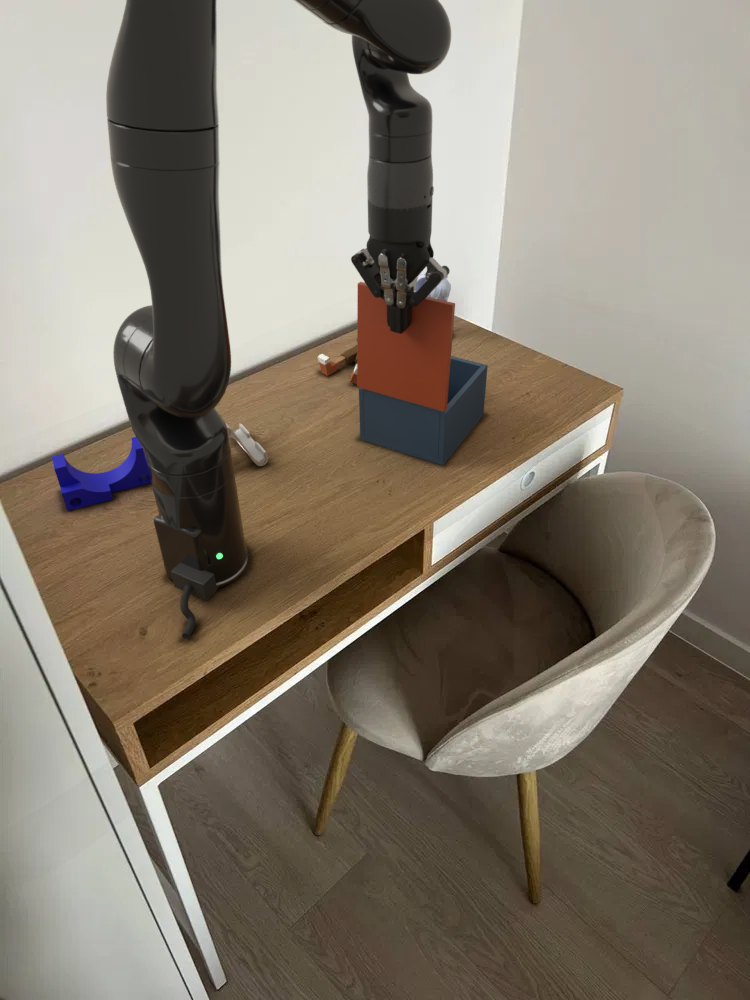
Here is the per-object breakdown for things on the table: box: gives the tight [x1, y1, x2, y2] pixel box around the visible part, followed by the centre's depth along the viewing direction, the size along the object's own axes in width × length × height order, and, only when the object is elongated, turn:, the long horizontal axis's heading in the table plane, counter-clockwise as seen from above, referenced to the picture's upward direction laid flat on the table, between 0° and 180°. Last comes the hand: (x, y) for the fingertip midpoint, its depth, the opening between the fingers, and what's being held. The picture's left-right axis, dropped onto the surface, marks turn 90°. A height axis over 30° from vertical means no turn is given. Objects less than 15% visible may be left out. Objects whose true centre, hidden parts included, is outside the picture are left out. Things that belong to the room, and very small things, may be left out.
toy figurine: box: [415, 273, 452, 301], centre depth 141 cm, size 7×6×12 cm
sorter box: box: [358, 355, 489, 466], centre depth 120 cm, size 15×14×9 cm
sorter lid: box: [356, 281, 456, 412], centre depth 108 cm, size 15×14×1 cm
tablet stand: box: [224, 420, 269, 467], centre depth 115 cm, size 9×8×8 cm
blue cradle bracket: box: [51, 436, 152, 512], centre depth 110 cm, size 12×4×6 cm, turn 113°
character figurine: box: [317, 344, 357, 385], centre depth 138 cm, size 12×5×18 cm
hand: (399, 330), depth 105 cm, fingers closed
